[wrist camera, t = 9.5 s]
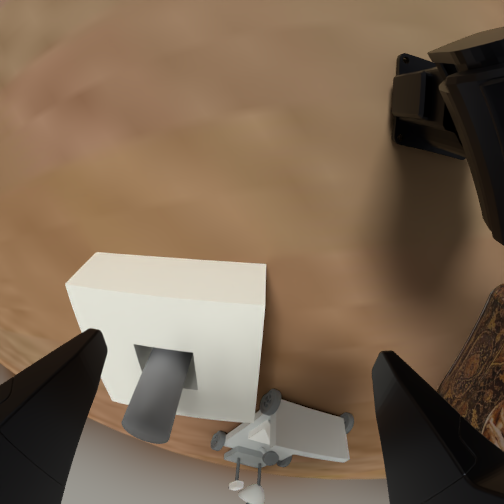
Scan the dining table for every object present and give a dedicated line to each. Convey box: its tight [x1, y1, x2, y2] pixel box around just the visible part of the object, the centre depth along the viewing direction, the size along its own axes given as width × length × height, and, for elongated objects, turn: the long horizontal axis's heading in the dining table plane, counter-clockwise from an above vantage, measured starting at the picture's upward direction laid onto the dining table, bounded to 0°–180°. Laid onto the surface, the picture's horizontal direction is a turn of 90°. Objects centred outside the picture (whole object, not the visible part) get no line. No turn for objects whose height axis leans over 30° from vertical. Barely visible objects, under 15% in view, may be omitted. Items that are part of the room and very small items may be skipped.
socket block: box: [65, 252, 266, 423], centre depth 23 cm, size 14×14×5 cm
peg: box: [122, 347, 193, 444], centre depth 20 cm, size 3×3×10 cm
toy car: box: [211, 389, 354, 504], centre depth 29 cm, size 18×10×12 cm
